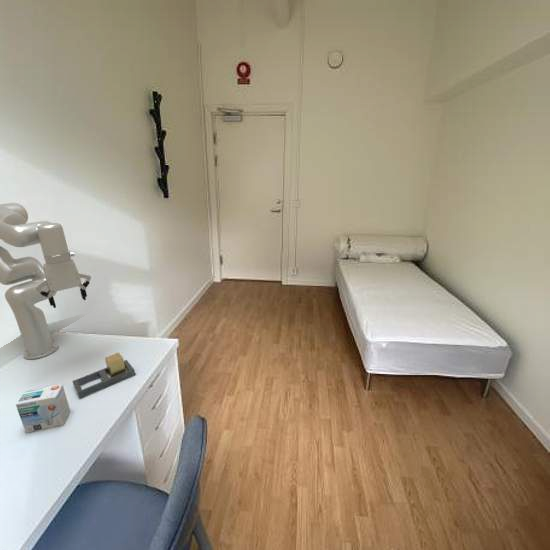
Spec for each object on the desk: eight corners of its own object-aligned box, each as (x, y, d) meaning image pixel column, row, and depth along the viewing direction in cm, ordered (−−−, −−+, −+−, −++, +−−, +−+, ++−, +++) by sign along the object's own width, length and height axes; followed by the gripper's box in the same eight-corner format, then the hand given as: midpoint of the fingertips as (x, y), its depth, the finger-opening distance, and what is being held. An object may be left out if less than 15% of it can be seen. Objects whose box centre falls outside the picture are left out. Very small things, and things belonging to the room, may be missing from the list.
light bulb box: (25, 433, 97) (14, 404, 93) (34, 417, 103) (24, 390, 99) (64, 425, 99) (55, 397, 96) (71, 410, 105) (63, 383, 102)
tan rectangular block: (109, 375, 122) (104, 357, 120) (122, 370, 126) (118, 352, 123) (113, 381, 119) (108, 363, 116) (127, 375, 122) (122, 357, 119)
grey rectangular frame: (74, 386, 117) (72, 381, 116) (127, 365, 129) (126, 359, 128) (79, 399, 110) (77, 393, 110) (135, 375, 122) (134, 369, 121)
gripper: (82, 251, 121) (92, 293, 127) (26, 261, 110) (40, 306, 116) (87, 255, 116) (97, 298, 121) (29, 266, 105) (43, 313, 111)
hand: (69, 302), depth 119 cm, fingers open, 9 cm apart
